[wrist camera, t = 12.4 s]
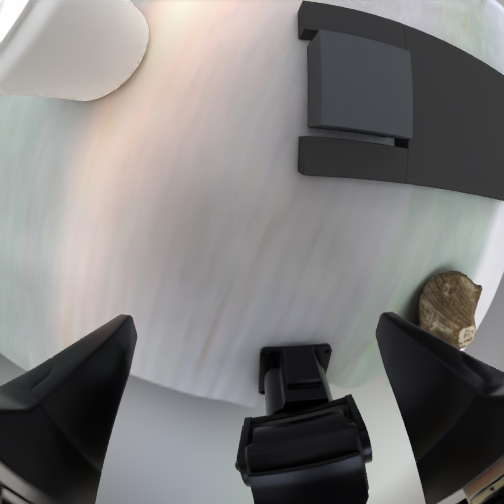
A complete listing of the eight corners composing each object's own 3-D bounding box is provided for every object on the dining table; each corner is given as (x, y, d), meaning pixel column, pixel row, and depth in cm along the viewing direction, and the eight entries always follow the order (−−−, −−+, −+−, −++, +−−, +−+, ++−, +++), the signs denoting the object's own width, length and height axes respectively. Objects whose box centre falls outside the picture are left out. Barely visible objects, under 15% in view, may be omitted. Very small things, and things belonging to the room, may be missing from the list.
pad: (387, 137, 17) (412, 139, 14) (307, 127, 17) (320, 125, 13) (386, 61, 14) (410, 51, 11) (307, 46, 14) (319, 28, 11)
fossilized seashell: (443, 364, 23) (482, 281, 21) (453, 395, 17) (506, 294, 15) (388, 343, 26) (425, 256, 24) (388, 371, 20) (439, 263, 18)
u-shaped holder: (502, 198, 18) (515, 203, 16) (297, 171, 18) (303, 175, 16) (505, 85, 14) (518, 85, 12) (297, 12, 13) (302, 0, 11)
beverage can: (158, -2, 12) (88, -91, 1) (146, 93, 15) (26, 54, 4) (68, 23, 12) (-29, -14, 1) (56, 110, 15) (-66, 118, 4)
